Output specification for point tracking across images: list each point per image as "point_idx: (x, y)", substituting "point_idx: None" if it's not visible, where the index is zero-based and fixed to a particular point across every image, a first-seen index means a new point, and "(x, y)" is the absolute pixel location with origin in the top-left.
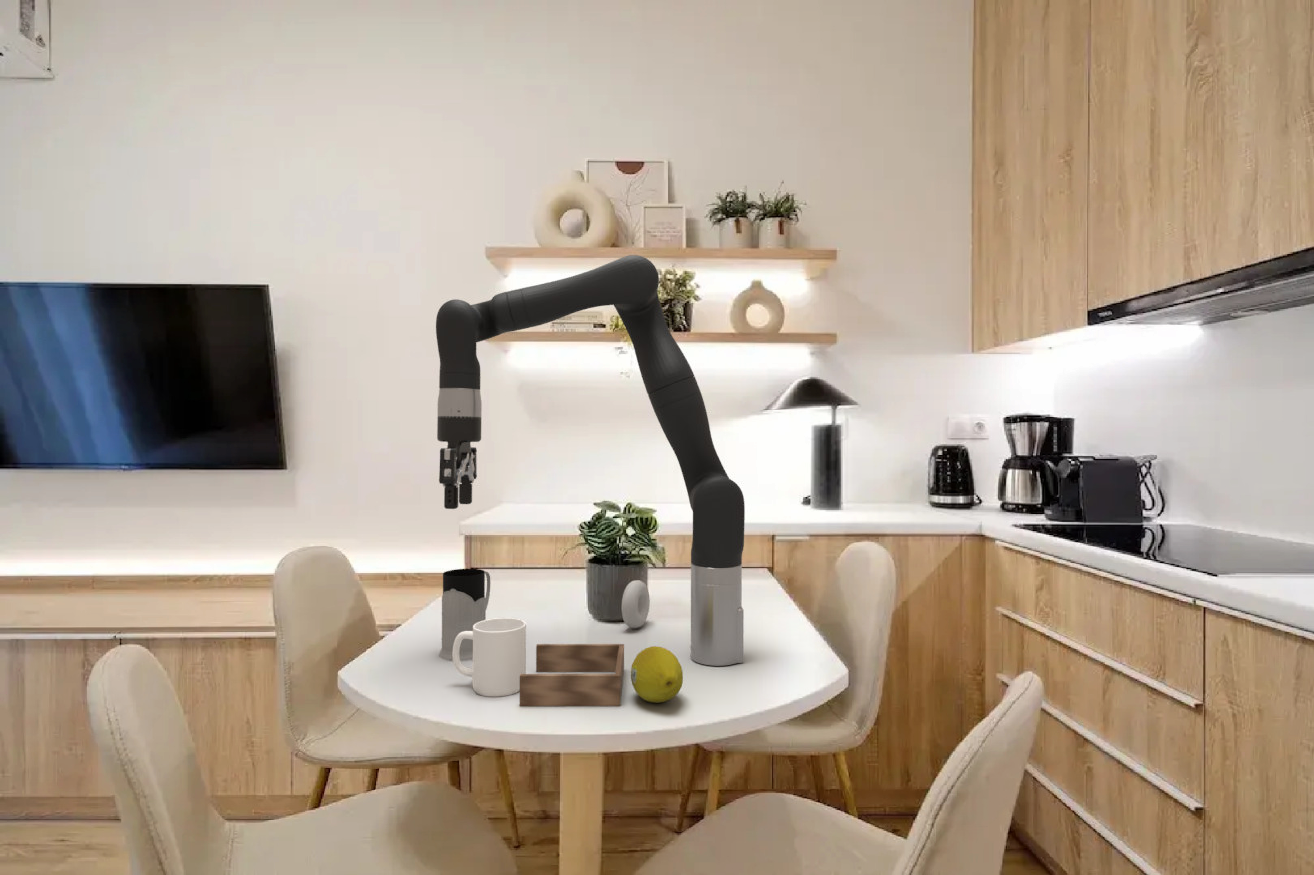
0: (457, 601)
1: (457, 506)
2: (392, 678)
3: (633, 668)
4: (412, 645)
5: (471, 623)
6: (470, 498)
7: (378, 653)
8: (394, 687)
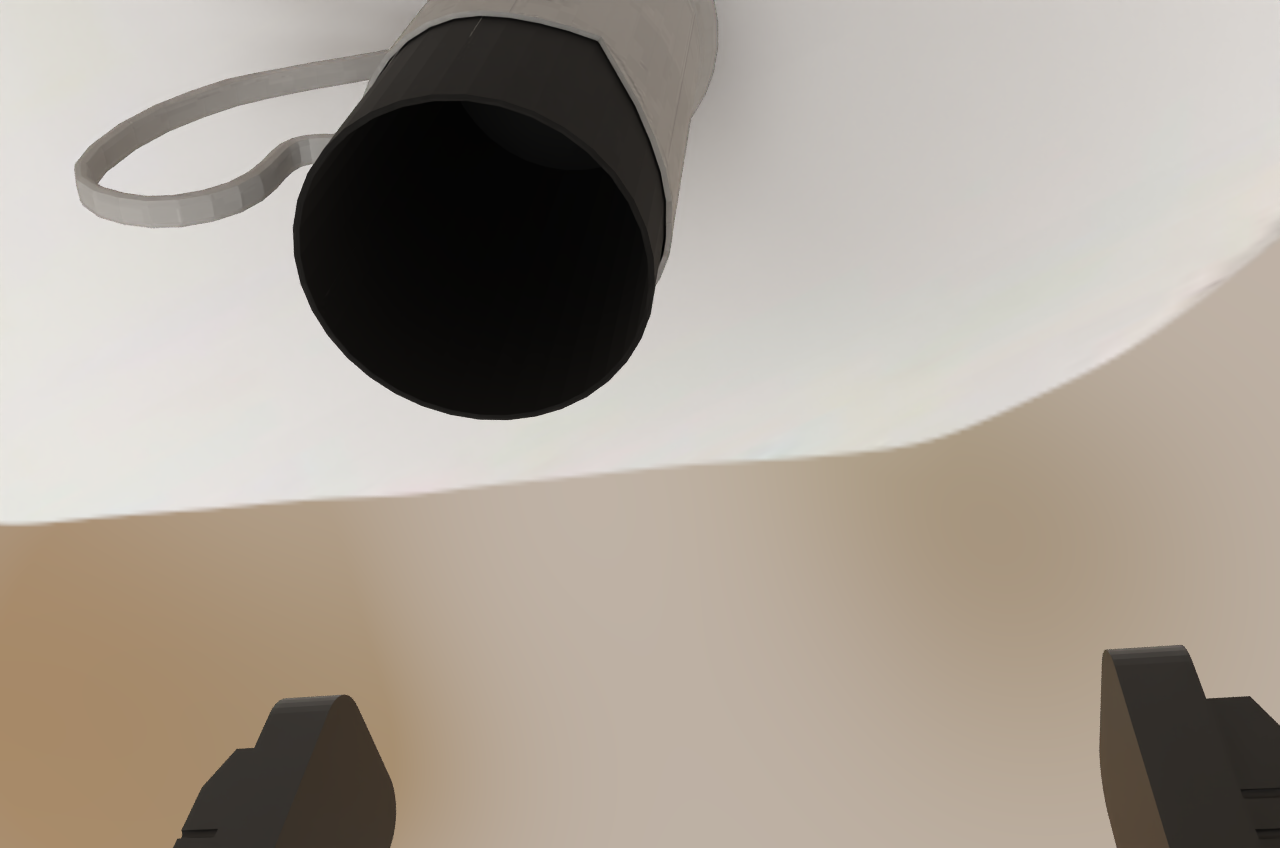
0: (677, 158)
1: (1155, 656)
2: (1033, 216)
3: None
4: None
5: (640, 7)
6: (318, 758)
7: (675, 448)
8: (1170, 142)
